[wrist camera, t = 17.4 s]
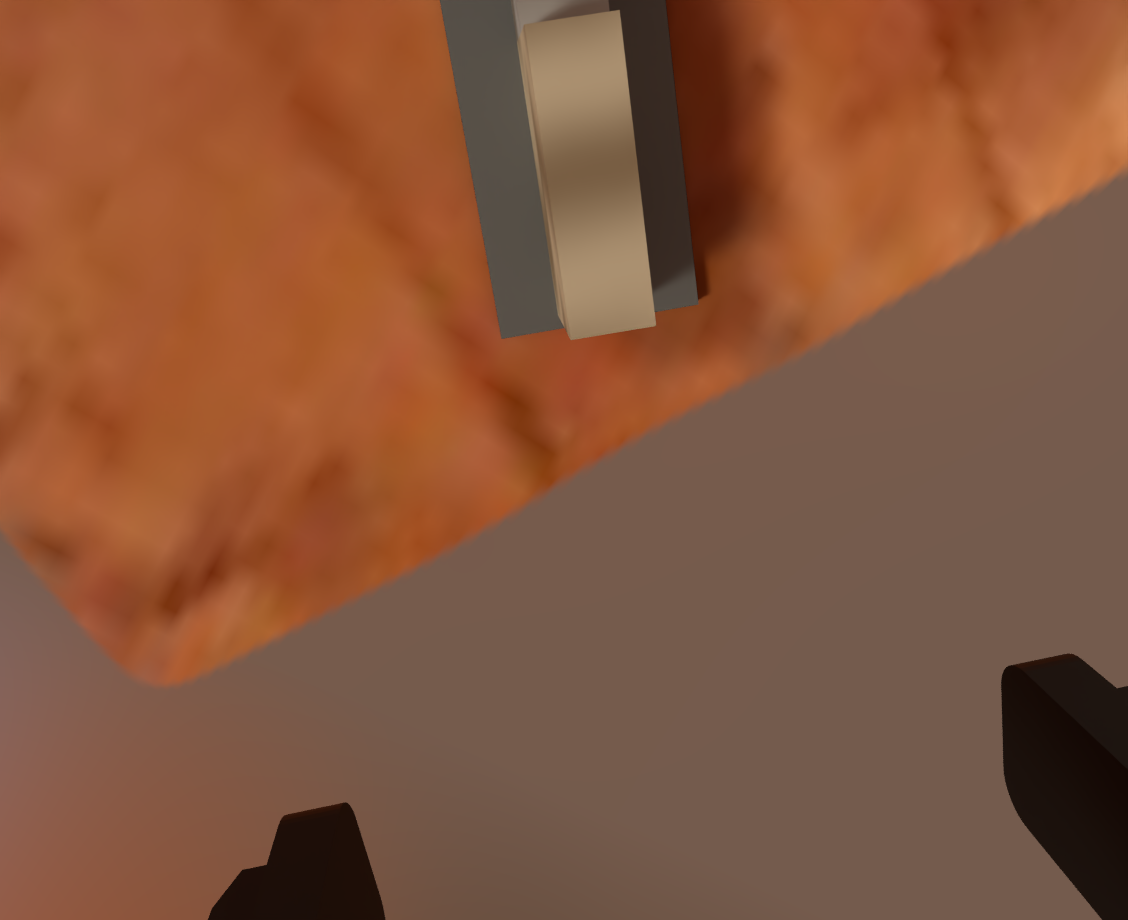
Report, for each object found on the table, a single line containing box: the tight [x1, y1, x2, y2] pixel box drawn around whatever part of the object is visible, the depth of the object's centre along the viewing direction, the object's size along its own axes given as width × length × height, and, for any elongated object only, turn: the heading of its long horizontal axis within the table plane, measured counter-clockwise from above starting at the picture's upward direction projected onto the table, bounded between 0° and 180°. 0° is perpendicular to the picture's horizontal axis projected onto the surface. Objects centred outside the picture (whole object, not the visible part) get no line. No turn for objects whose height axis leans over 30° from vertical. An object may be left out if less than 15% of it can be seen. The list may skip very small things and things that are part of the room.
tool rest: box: [440, 0, 698, 339], centre depth 34 cm, size 8×18×1 cm, turn 9°
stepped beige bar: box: [511, 0, 656, 340], centre depth 32 cm, size 15×3×5 cm, turn 8°
